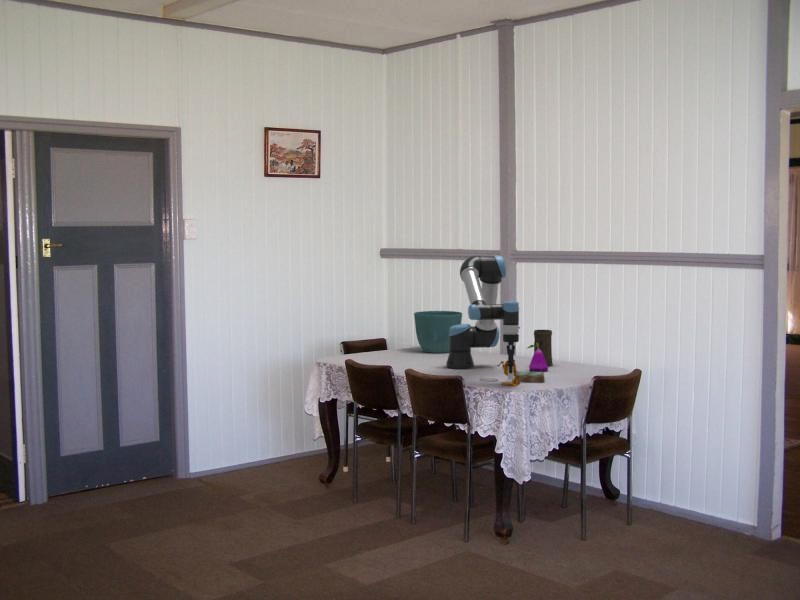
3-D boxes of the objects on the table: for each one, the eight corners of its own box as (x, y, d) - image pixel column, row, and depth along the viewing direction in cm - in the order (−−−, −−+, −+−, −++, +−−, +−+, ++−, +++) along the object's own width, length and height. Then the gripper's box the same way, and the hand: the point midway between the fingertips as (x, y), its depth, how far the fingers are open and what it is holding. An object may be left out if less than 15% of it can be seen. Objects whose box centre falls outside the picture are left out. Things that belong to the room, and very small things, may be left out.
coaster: (479, 382, 442) (479, 380, 442) (480, 379, 450) (480, 377, 450) (497, 382, 440) (497, 380, 440) (498, 379, 449) (498, 378, 449)
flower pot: (464, 354, 544) (464, 314, 542) (415, 354, 544) (414, 315, 542) (460, 348, 574) (460, 310, 572) (413, 348, 573) (413, 311, 572)
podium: (515, 382, 439) (515, 375, 438) (515, 377, 453) (515, 371, 452) (544, 382, 437) (544, 375, 437) (543, 378, 451) (543, 371, 450)
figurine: (496, 384, 432) (496, 359, 431) (511, 382, 439) (511, 357, 438) (509, 386, 425) (509, 361, 424) (525, 384, 432) (525, 359, 431)
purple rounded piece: (545, 369, 482) (545, 341, 481) (552, 372, 471) (552, 343, 470) (524, 369, 480) (525, 341, 479) (531, 372, 469) (531, 344, 468)
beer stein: (552, 367, 488) (552, 330, 488) (532, 366, 490) (532, 330, 490) (553, 365, 503) (553, 329, 503) (533, 364, 505) (534, 329, 505)
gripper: (518, 336, 418) (518, 381, 419) (518, 331, 442) (518, 373, 444) (502, 336, 419) (502, 381, 420) (503, 330, 443) (503, 373, 444)
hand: (510, 377), depth 432 cm, fingers open, 13 cm apart
